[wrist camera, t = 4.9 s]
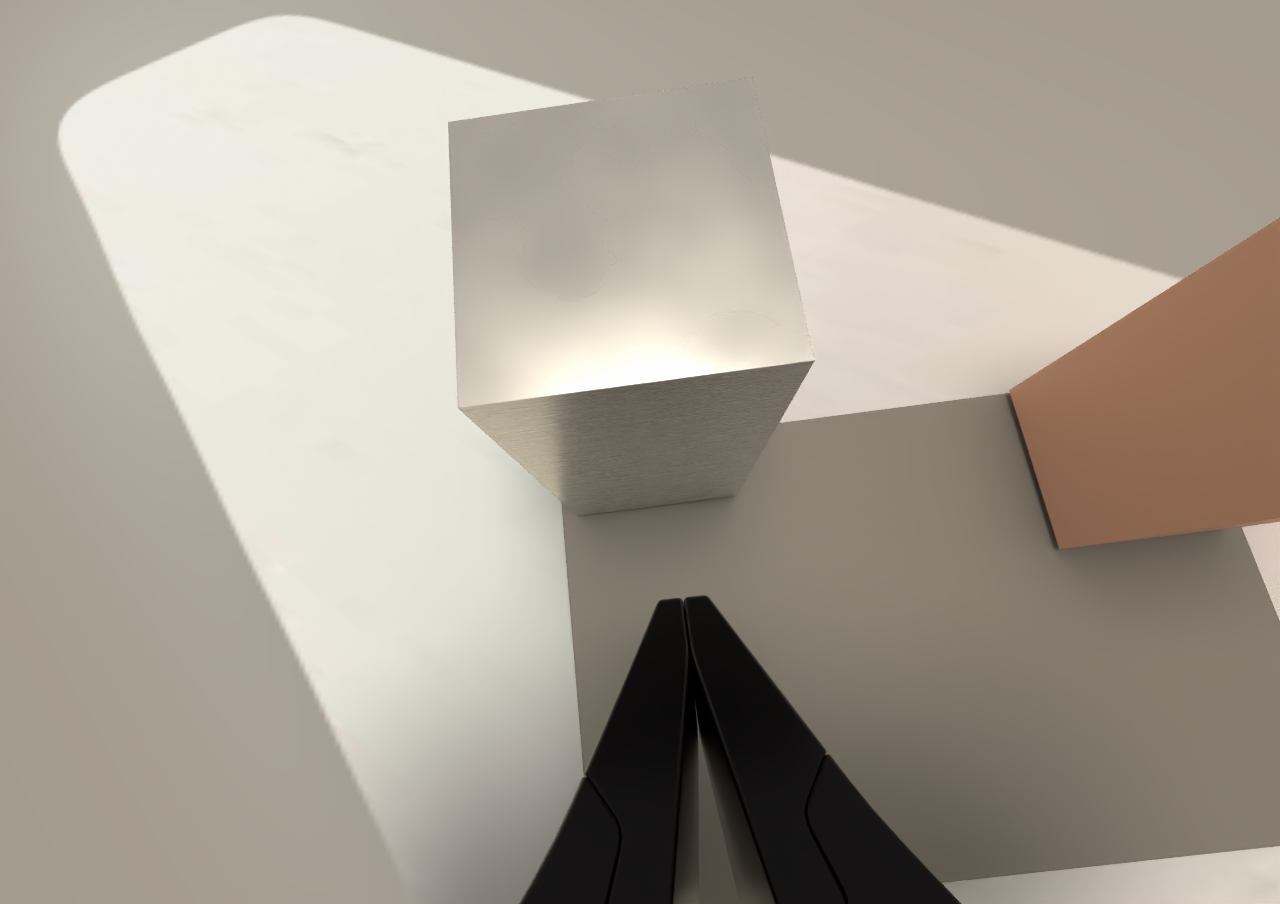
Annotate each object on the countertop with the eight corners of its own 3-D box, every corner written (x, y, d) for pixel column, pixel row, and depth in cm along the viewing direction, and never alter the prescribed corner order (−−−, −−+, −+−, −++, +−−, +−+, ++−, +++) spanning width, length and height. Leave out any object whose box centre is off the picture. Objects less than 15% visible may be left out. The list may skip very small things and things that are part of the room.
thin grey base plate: (1315, 819, 16) (1366, 836, 14) (601, 897, 16) (595, 920, 15) (1147, 385, 19) (1177, 371, 18) (564, 461, 20) (557, 452, 18)
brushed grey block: (737, 495, 17) (814, 360, 8) (577, 516, 18) (457, 408, 8) (712, 348, 19) (752, 77, 9) (563, 369, 19) (448, 122, 9)
